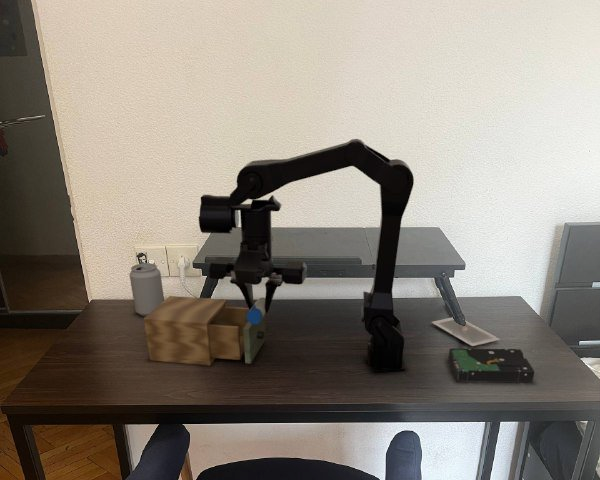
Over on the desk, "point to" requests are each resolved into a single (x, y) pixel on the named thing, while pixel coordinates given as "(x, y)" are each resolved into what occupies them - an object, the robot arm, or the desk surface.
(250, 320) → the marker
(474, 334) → the touchpad
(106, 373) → the desk surface
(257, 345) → the drawer
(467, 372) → the disk drive
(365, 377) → the desk surface
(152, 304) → the can
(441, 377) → the desk surface
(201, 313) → the cabinet
